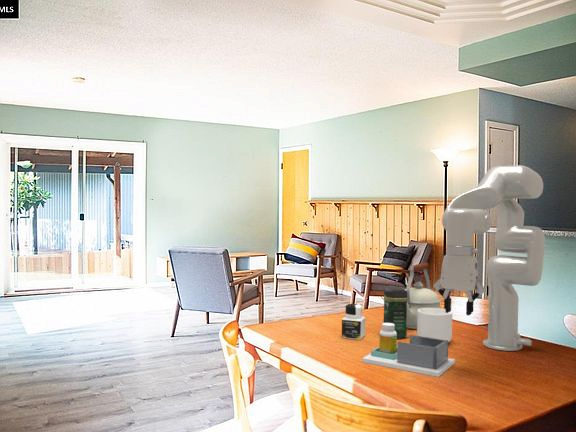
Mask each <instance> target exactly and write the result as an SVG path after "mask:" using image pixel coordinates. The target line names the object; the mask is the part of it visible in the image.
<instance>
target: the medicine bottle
mask: <svg viewBox="0 0 576 432" xmlns="http://www.w3.org/2000/svg"><path fill="white" fill-rule="evenodd" d="M365 336H366V316H363V305H361V304H359V303H348V304H346V305H345V316H344V317H343V318H342V319H341V339H349V340H356V341H361V340H362V339H363V338H364V337H365Z"/></svg>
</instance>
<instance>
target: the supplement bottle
mask: <svg viewBox="0 0 576 432" xmlns="http://www.w3.org/2000/svg"><path fill="white" fill-rule="evenodd" d="M394 329H395V324H393V323H381V330H380V331H379V345H378V347H379V352H383V353H388V354H395V353H396V352H397V342H398V339H397V333H396V331H394Z"/></svg>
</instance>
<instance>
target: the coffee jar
mask: <svg viewBox="0 0 576 432" xmlns="http://www.w3.org/2000/svg"><path fill="white" fill-rule="evenodd" d="M383 289H384V290H383V323H393V324H395V329H394V331H396V333H397V340H401V339H405V338H407V333H408V331H407V329H408V328H407V291H406V290H404V288H402V287H399V286H398V285H387V286H386V287H385V288H383Z"/></svg>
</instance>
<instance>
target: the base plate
mask: <svg viewBox="0 0 576 432" xmlns="http://www.w3.org/2000/svg"><path fill="white" fill-rule="evenodd" d="M361 362H362V363H365V364H370V365H375V366H382V367H385V368H389V369H390V368H391V369H394V370H395V369H396V370H401V371H406V372H411V373H416V374H420V375H426V376H432V377H437V378H439V377H441V376H442V375H443V374H444V373H445V372H447V371H448V370H449V369H450V368H451V367H452V366H453V365H454V364H456V359H455V358H451V357H448V360H447V361H446V362H445V363H443V364H442V365H441V366H440V367H439V368H437V369H432V368H426V367H421V366H416V365H410V364H405V363H400V362H397V352H396V353H395V354H388V353H383V352H379V346H377V347H376V348H374V349H371V351H370V353H368V354H367V355H365V356H363V357H362V358H361Z"/></svg>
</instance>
